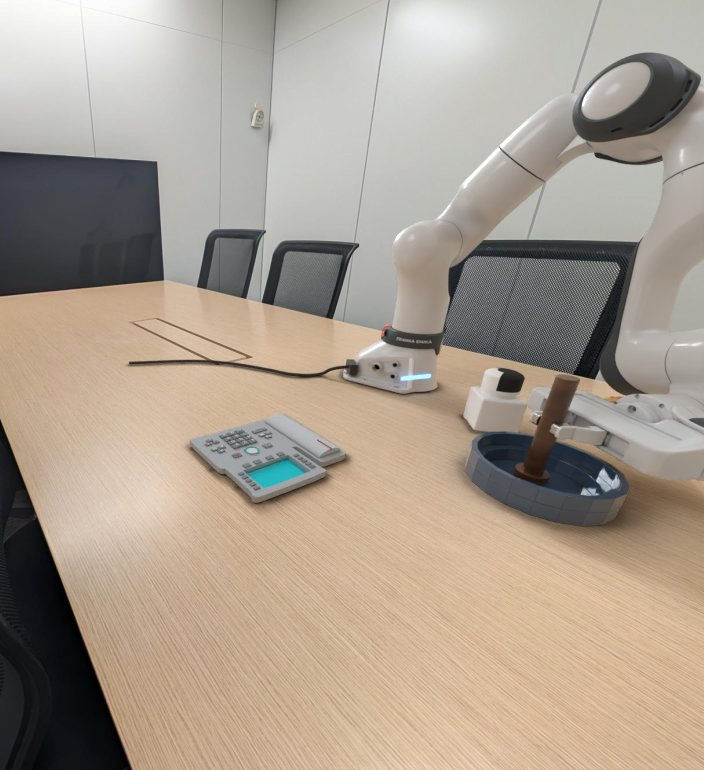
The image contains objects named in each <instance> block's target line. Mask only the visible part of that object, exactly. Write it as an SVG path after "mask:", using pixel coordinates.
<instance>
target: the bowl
mask: <svg viewBox="0 0 704 770" xmlns="http://www.w3.org/2000/svg"><path fill="white" fill-rule="evenodd" d="M533 437H534V434H531V433H526V432H519V431H518V432H508V431H498V432H488V431H486V432H483V433H480V434H477V435H476V436H475V437H474V438H473V439H472V440H471V442H470V445H469V447H468V448H469V449H468V452H467V455H466V457H465V462H464V471H465V474H466V475H467V476H468V478H469V479H470V481H471V482H472V483H473V484H475V486H477V487H478V488H479V489H481V490H482V491H483V492H484V493H485V494H487V495H489V497H492V498H493V499H495V500H497V501H499V502H500V503H502V504H504V505H506V506H509V507H511V508H513V509H515V510H517V511H519V512H523V513H525V514H527V515H530V516H534V517H537V518H541V519H543V520H547V521H550V522H554V523H559V524H565V525H573V526H579V527H589V526H603V525H606V524H608V523H610V522H612V521H614V520H615V519H616V517H617V516H618V514H619V512H620V510H621V508H622V506H623V504H624V502H625V500H626V499H627V496H629V492H630V490H631V487H632V485H631V484H630V481H629V480H628V478H627V477H626V475H625V473H623V472H622V471H620V470H619V469H618V468H617V467H615V466H614V465H613V464H612V463H610V462H608V461H607V460H604V459H603V458H601V457H599V456H597V455H596V454H593V453H591V452H589V451H587V450H585V449H582V448H579V447H578V446H575V445H572V444H569V443H566V442H563V441H560V440H556V443H555V445H554V448H553V451H552V453H551V456H550V458H549V461H548V463H547V466H546V468H545V470H546V471H547V472H549V474H550V479H549V481H548V484H547V486H546V487H541V486H538V485H536V484H533V483H530V482H528V481H525V480H523V479H520V478H517V477H515V476H513V475H512V474H513V471H514V468H515V466H516V464H519V463H524V461H525V459H526V456H527V453H528V451H529V448H530V445H531V442H532V440H533Z"/></svg>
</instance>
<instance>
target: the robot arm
mask: <svg viewBox="0 0 704 770" xmlns="http://www.w3.org/2000/svg"><path fill="white" fill-rule="evenodd" d="M701 81H702V77H701V75H700V73H698V72H696V71H694V70H693V69H691V68H690V67H688V66H687V65H686V64H684V63H683V62H682V61H681V60H679V59H677V58H675V57H673V56H671V55H668V54H664V53H660V52H639V53H638V52H637V53H634V54H631V55H628V56H625V57H623V58H621V59H618V60H617V61H615V62H612V63H611V64H609V65H608V66H607V67H605V68H604V69H602V70H601V71H600V72H599V73H597V74H596V75H595V76H594V77H593V78H592V79H591V80H590V81H589V82H588V83H587V84H586V85H585V86H584V88H583V89H582V90H581V91H580V93H579V92H568V93H564V94H560V95H558V96H556V97H555V98H553V99H551V100H549V101H548V102H546V104H545V105H543V106H542V107H540V108H539V109H538V110H537V111H536V112H535V113H533V114H532V115H531V116H530V117H528V118H527V119H526V120H525V121H524V122H522V123H521V124H520V125H519V126H518V127H517V128H516V129H514V131H512V133H510V134H509V135H508V136H507V137H506V138H505V139H504V140H503V141H502V142H501V143H500V144H499V145H498V146H497V147H496V148H495V149H493V151H492V152H491V153H490V154H489V155H488V157H486V158H485V159H484V160H483V161H482V162H481V164H479V165H478V166H477V167H476V168H475V169H474V171H473V172H472V173H470V174H469V176H468V177H467V178H466V179H465V180H464V181H463V182H462V183H461V184H460V185H459V187H458V191H457V192H456V194H455V196H454V197H453V198H452V200H451V201H450V202H449V204H448V205H447V206H446V208H445V209H444V210H443V211H442V212H441V213H440V214H439V216H437V217H436V218H435V219H433V220H421V221H417V222H416V223H413V224H411V225H409V226H408V227H406V228H404V229H403V230H401V231H400V232H399V233H398V234H397V236H396V237H395V238H394V240H393V241H392V245H391V249H390V256H391V260H392V262H393V264H394V265H395V274H396V301H395V306H394V313H393V319H392V324H390V323H386V324H384V326H383V327H382V330H381V335H380V339H379V340H378V341H376V342H374V343H371V344H370V345H368V346H366V347H364V348H362V349H361V350H359V352H358V353H357V354H356V356H355V358H354V359H353V358H346V359H345V365H344V364H343V365H337V366H336V365H335V366H332V367H329V368H327V369H324V370H323V371H319V372H314V373H299V372H289V371H284V370H279V369H275V368H270V367H264V366H258V365H253V364H248V363H241V362H234V361H227V360H226V361H225V360H217V359H216V360H214V359H160V360H133V361H128V365H150V364H172V363H174V364H175V363H176V364H177V363H178V364H179V363H198V364H199V363H200V364H201V363H202V364H218V365H229V366H235V367H241V368H248V369H254V370H259V371H264V372H269V373H275V374H279V375H284V376H289V377H297V378H299V377H300V378H314V377H321V376H324V375H327V374H328V373H330V372H332V371H337V370H343V373H342V377H343V379H344V380H346V381H349V382H353V383H356V384H357V383H358V384H361V385H365V386H369V387H373V388H377V389H381V390H385V391H390V392H393V393H398V394H400V395H401V394H403V395H405V394H410V393H423V392H430V391H433V390H436V389H437V388H438V378H437V377H438V376H437V375H438V374H437V373H438V371H437V370H438V357H439V355H440V353H441V352H442V347H443V344H444V338H445V331H444V328H445V323H446V319H447V316H448V315H447V314H448V311H449V306H450V301H451V296H450V292H449V273H450V268H453V267H455V266H457V265H459V264H460V263H461V262H462V261H464V260H465V259H466V258H467V257H468V256H469V255H470V254H471V253H472V252H473V251H474V250H476V248H477V247H478V246H479V245H480V244H482V242H483V241H484V240H485V239H486V238H487V237H488V236H489V235H490V234H491V233H492V232H493V230H494V229H496V228H497V226H498V225H499V224H500V223H501V222H502V221H504V219H505V218H507V217H508V216H509V215H510V214H511V213H512V212H513V211H514V210H516V209H517V208H519V206H520V205H522V204H523V202H525V201H526V200H527V199H528V198H529V197H531V196H532V195H533V194H534V193H535V192H537V191H538V190H539V189H540V188H541V187H542V186H543V185H545V184H547V182H548V181H549V180H550V179H551V178H553V177H554V176H555V175H556V174H557V173H558V172H560V170H562V168H564V167H565V166H567V165H568V164H569V163H570V162H572V161H574V160H575V159H577V158H579V157H581V156H583V155H587V154H593V155H594V157H595V158H596V159H599V160H604V161H608V162H613V163H617V164H621V165H631V166H647V165H652V164H657V163H663V165H662V166H663V170H662V171H663V172H662V185H661V194H660V200H659V203H658V206H657V209H656V211H655V214H654V217H653V219H652V221H651V223H650V225H649V227H648V229H647V231H646V232H645V234H644V235H643V236H642V237H641V238H640V240H639V241H638V242H637V244H636V245H635V247H634V249H633V251H632V253H631V255H630V258H629V259H630V260H629V263H628V266H627V270H626V273H625V278H624V282H623V286H622V291H621V293H620V294H621V295H620V299H619V304H618V307H617V312H616V316H615V319H614V320H615V321H614V325H613V328H612V331H611V335H610V337H609V339H608V341H607V343H606V345H605V347H604V349H603V350H602V353H601V356H600V358H599V372H600V375H601V377H602V379H603V380H604V382H605V383H606V384H607V385H608V386H609V387H610V388H611V389H612V390H614V391H615V392H616V393H618V394H619V395H621V396H624V397H622V398H620V399H619V400H617V401H616V402H615V403H612V402H610V401H608V400H606V399H604V398H603V397H601V396H599V395H596V394H594V393H593V392H590V391H587V390H583V389H579V388H577V390H576V392H575V395H574V397H573V400H572V402H571V405H570V407H569V410H568V413H567V415H566V418H565V420H564V423H554V424H552V426H551V429H550V431H549V433H550V434H552V435H553V436H555V437H556V438H557V440H567V441H574V442H578V443H582V444H586V445H589V446H594V447H595V448H597V449H598V450H601V451H602V452H604V453H605V454H607V455H609V456H611V457H613V458H615V460H618V461H620V462H621V463H623V464H624V465H626V466H628V467H630V468H632V469H634V470H635V471H637V472H638V473H640V474H642V475H645V476H648V477H652V478H654V479H658V480H659V479H660V480H670V481H671V480H672V481H693V480H695V481H700V482H704V328H697V329H691V330H683V331H682V330H681V331H673V332H670V331H671V330H670V329H671V324H672V320H673V317H674V312H675V309H676V305H677V301H678V297H679V294H680V293H679V292H680V289H681V285H682V283H683V281H684V279H685V278H686V276H687V275H688V274H689V273H690V272H691V271H692V270H693V269H694V268H695V267H696V266H697V265H699V264H700V263H702V261H704V86H703V83H702V82H701ZM551 388H552V386H537V387H536V386H535V388H533V389H531V391H530V394H529V397H528V400H527V402H526V403H527V408H528V409H530V410H531V412H530V414H529V418H528V421H529V422H531V423H532V424H534V425H535V426H538V423H539V420H540V418H541V415H542V412H543V410H544V407H545V404H546V401H547V399H548V396H549V393H550V390H551Z"/></svg>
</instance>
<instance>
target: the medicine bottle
mask: <svg viewBox="0 0 704 770" xmlns="http://www.w3.org/2000/svg"><path fill="white" fill-rule="evenodd" d="M525 379H526V377H525V375H524V374H523V373H521V372H519V371H517V370H514V369H511V368H507V367H492V368H488V369H485V370H484V373H483V377H482V379H481V383H480V386H474V385H473V386H471V387H470V390H469V393H468V396H467V399H466V403H465V407H464V411H463V414H462V417H463V419H464V420H466V421H467V422H468V424H469V425H470V427H471V428H472V430H474V431H481V432H498V431H508V432H518V433H519V431H520V428H521V425H522V423H523V419H524V416H525V413H526V411H527V408H528V407H527V403H528V402H526V401H525V400H524V399H523V398H521V397H520V394H521V392H522V388H523V385H524V383H525Z"/></svg>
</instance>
